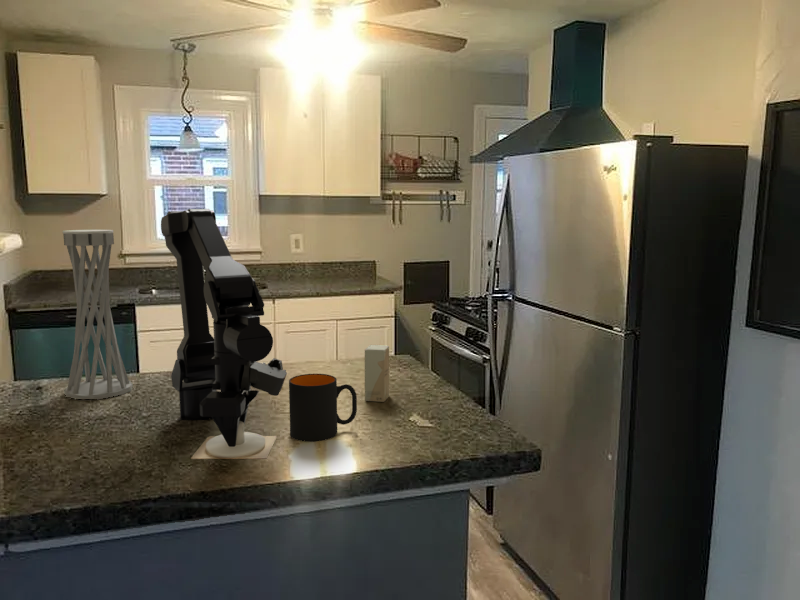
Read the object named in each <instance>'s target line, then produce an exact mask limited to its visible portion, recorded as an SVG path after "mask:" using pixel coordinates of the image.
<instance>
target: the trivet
mask: <svg viewBox="0 0 800 600" xmlns="http://www.w3.org/2000/svg"><path fill="white" fill-rule="evenodd" d="M216 436H217V435H216ZM216 436H215V435H211V436H210V435H209V436H207V437H206V438H205V440H204V441H203V442H202V444H201V445H200V446H199V447H198V449H197V450H196V451H195V452H194V454H193V455H192V456H191V457H190V459H191V460H217V459H218V460H228V459H229V460H233V459H234V460H242V459H243V460H248V459H249V460H250V459H251V460H252V459H253V460H254V459H255V460H256V459H257V460H258V459H262V460H264V459H267V458H268V456H269V454H270V452H271V450H272V448H273V446H274V444H275V442H276V440H277V438H278V435H262V436H263V437H264V438H265V447H264V448H263V449H262V450H261V451H259V452H257V453H255V454H252V455H248V456H244V457H237V458H221V457H215V456H212V455H210V454H208V453H207V451H206V443H207V442H208V441H209V440H210V439H212V438H214V437H216Z"/></svg>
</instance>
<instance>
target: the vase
mask: <svg viewBox="0 0 800 600" xmlns="http://www.w3.org/2000/svg"><path fill="white" fill-rule="evenodd" d="M62 234H63V236H62V237H63V245H64V246H66V249H67V252H68V256H69V260H70V263H71V266H72V274H73V275H72V276H73V283H74V284H73V285H74V291H75V299H76V301H75V302H76V317H75V329H74V330H75V331H74V343H73V344H74V345H73V346H74V348H73V356H72V360H71V361H72V362H71V367H70V372H69V378H68V384H67V387H66V388H65V389H64V390H63V393H64V394H65V395H66V396H65V395H64V396H65V398H66V397H71V398H76V399H97V400H104V399H103V398H106V399H109V398H108V397H110V398H113V396H114V397H119V396H122V394H123V395H125V394H127V393H129V392H131V391H132V389H133V382H132V381H131V380H129V377H128V375H127V371H126V368H125V364H124V361H123V359H122V355H121V352H120V349H119V344H118V339H117V336H116V335H117V334H116V330H115V325H114V320H113V315H112V310H111V306H110V305H111V304H110V303H111V302H110V277H109V276H110V275H109V274H110V273H109V272H110V271H109V269H110V260H111V255H112V254H111V253H112V245H114V244H115V241H114V240H115V239H114V236H115V235H114V229H72V230H71V229H70V230H62ZM89 246H92V254H91V258H90V256H89V252H88V249H87V247H89ZM100 246H101V248H102V251H101V255H100V251H99V248H100ZM77 247H80V253H79V252H78V251H79V250H78V249H77ZM79 254H80V255H79ZM85 267H87V269H88V270H87V271H88V276H87V273H86V271H85V269H86V268H85ZM95 269H96V270H97V275H96V273H95ZM92 285H93V290H92ZM84 291H85V292H84ZM89 303H90V308H89ZM98 303H99V307H98V305H97V304H98ZM103 318H104V321H103ZM94 320H96V322H97V324H96V325H97V326H96V331H95V326H94ZM85 321H87V323H86V325H85ZM101 336H102V339H103V342H104V345H105V362H106V365H105V363H104V359H103V355H102V352H101V348H100V344H101ZM91 338H92V339H91ZM90 339H91V340H92V342H93V345H94V349H93V350H94V351H93V358H92V365H91V366H92V367H90V361H89V351H88V350H89V349H88V348H89V343H90ZM80 347H81V351H80ZM98 364H99V368H100V372H101V376H102V378H98V379H96V377H97V368H98ZM112 367H113V369H112ZM90 368H91V370H90ZM112 370H114V373H115V376H116V378H115V377H114V378H113V371H112ZM83 373H84V374H85V380H84V381H82V377H83ZM118 395H119V396H118ZM71 398H70V399H71ZM76 399H75V400H76Z"/></svg>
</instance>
